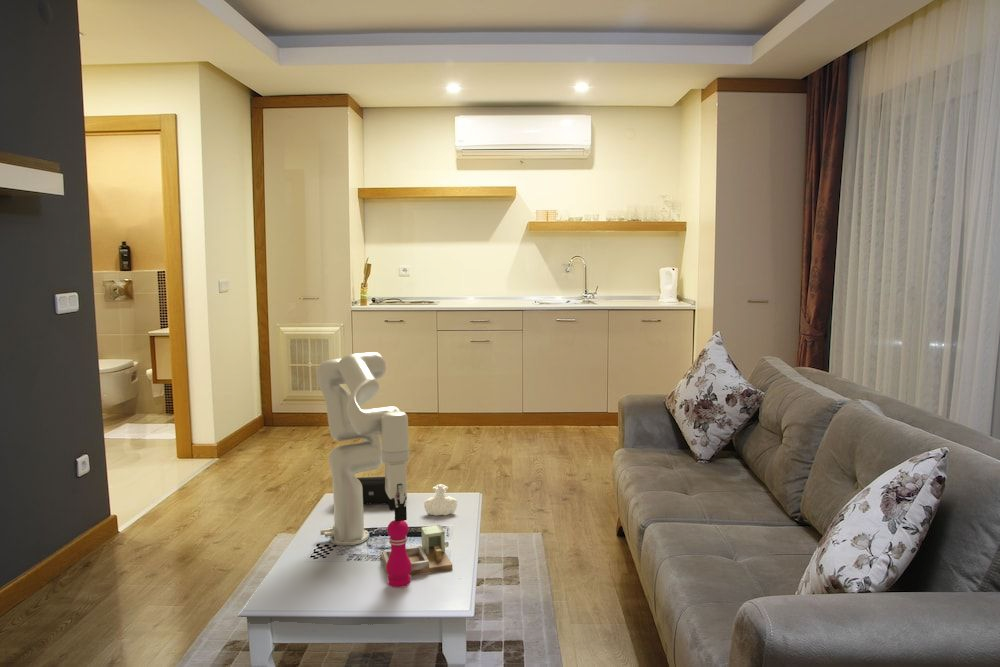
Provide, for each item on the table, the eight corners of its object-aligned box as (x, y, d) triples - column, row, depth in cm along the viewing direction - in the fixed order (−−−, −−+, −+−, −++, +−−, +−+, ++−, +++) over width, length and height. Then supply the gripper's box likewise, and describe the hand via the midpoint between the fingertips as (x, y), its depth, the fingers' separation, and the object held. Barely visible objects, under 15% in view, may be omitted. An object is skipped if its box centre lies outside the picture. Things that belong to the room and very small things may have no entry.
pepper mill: (391, 590, 199) (389, 522, 197) (383, 580, 206) (381, 513, 203) (415, 585, 203) (414, 517, 200) (407, 574, 209) (405, 509, 206)
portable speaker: (336, 509, 264) (335, 483, 263) (340, 500, 274) (339, 474, 273) (406, 506, 266) (405, 480, 265) (407, 497, 276) (406, 472, 275)
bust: (457, 518, 260) (456, 488, 266) (457, 511, 253) (456, 481, 259) (424, 519, 259) (424, 489, 265) (423, 512, 252) (423, 482, 258)
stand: (388, 578, 207) (388, 564, 206) (380, 556, 222) (380, 543, 221) (452, 569, 212) (452, 554, 212) (440, 548, 227) (439, 535, 227)
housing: (425, 554, 219) (425, 534, 219) (421, 546, 225) (421, 527, 224) (444, 551, 221) (444, 531, 220) (440, 544, 227) (440, 524, 226)
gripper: (377, 449, 207) (380, 506, 209) (387, 465, 191) (389, 527, 193) (403, 447, 210) (405, 503, 211) (414, 462, 193) (416, 523, 195)
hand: (397, 514), depth 202 cm, fingers open, 9 cm apart
